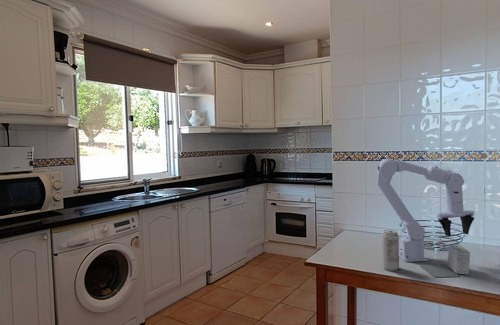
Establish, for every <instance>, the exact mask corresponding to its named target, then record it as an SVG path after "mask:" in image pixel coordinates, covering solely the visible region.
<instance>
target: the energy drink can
mask: <svg viewBox="0 0 500 325" xmlns="http://www.w3.org/2000/svg"><path fill="white" fill-rule="evenodd" d="M399 239H400V235H399V234H398V231H397V230H394V229H384V230H383V232H382V234H381V250H382V251H381V252H382V253H381V255H382V260H381V261H382V267H383V268H384V270H386V271H390V272H396V271H398V269H399V268H400V257H399Z"/></svg>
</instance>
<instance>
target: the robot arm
mask: <svg viewBox="0 0 500 325" xmlns="http://www.w3.org/2000/svg"><path fill="white" fill-rule="evenodd" d="M376 171H377V173H376V174H377V176H376V178H377V179H376V183H377V184H376V185H377V187H379V189H380V190H381V192H382V194H383V195H384V196H385V198H386V199H387V200H388V202H389V204H390V205H391V207H392V208H393V210H394V211H395V213H396V215H398V217H399V219H400V220H401V222H402V223H403V228H404V230H405V234H404V237H399V259H401V260H403V261H404V262H406V263H407V262H408V263H409V262H411V263H412V262H429V259H428V258H426V257H425V234H426V231H425V228H424V227H423V226H422V225H421V224H420V223H419V221H417V220H416V219H415V217H413V215H412V213H410V211H409V209H408V208H407V207H406V205H405V204H404V202H403V201H402V199H401V197H400V196H399V195H398V193H397V192H396V190H395V189H394V187H393V186H392V184H391V181H392V179H393V176H394V175H395V174H396V172H397V173H400V172H403V171H404V172H410V173H414V174H418V175H422V176H424V178H425V179H426V180H428V181H431V182H435V183H437V184H442V185H444V184H445V199H446V211H444V212H441V213H436V218H437V220H438V222H439V223H440V224H441V227H442V229H443V232H444V235H445V236H446V237H451V226H452V220H451V219H454V218H460V222H461V226H462V227H461V228H462V230H461V231H462V234H465V235H469V232H470V230H471V229H470V228H471V225H472V224H473V222H474V220H475V211H474V210H471V209H469V210H465V209H464V196H463V185H464V183H465V179H464V177H463V176H462V175H461V174H460V173H457V172H454V171H451V169H443V168H439V166H438V165H433V166H432V165H430V166H428V167H423V166H419V165H416V164H414V163H410V162H406V161H403V160H397V159H390V158H383V159H382V160H380V161H379V163H378V166H377V168H376Z"/></svg>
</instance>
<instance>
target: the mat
mask: <svg viewBox="0 0 500 325" xmlns="http://www.w3.org/2000/svg"><path fill="white" fill-rule="evenodd" d="M419 267H420V268H422V269H423V270H424V271H425V272H427V274H429V275H431V276H432V277H433V278H434V279H435V278H460V277H461V276H460V274H457V273H455V272H454V271H453V270H452V269H451V268H448V266H445V265H444V264H425V265H424V264H423V265H420V264H419Z"/></svg>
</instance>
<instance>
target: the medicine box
mask: <svg viewBox="0 0 500 325" xmlns="http://www.w3.org/2000/svg"><path fill="white" fill-rule="evenodd" d="M447 254H448V256H447V267H449V269H450V270H451V271H453V272H454V273H456V274H458V275H469V273H470V260H471V258H470V257H471V252H470V251H469V250H468V249H466V248H465V247H464V246H462V245H460V244H459V245H458V244H448V253H447Z"/></svg>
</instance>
